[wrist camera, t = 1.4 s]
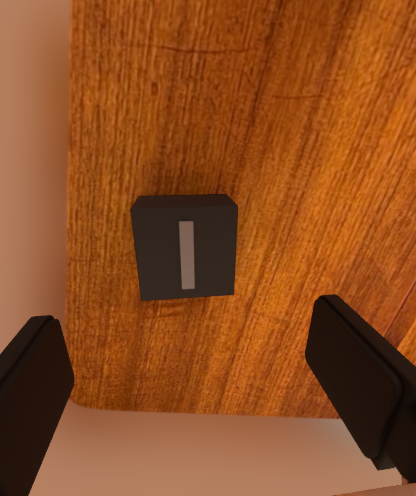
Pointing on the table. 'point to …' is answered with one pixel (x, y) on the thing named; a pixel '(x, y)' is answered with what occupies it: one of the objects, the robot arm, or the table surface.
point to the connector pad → (185, 245)
